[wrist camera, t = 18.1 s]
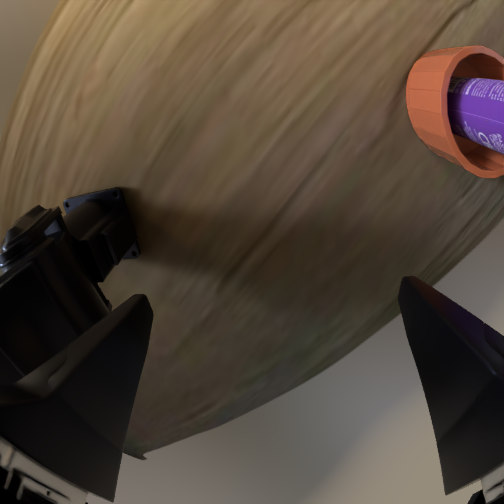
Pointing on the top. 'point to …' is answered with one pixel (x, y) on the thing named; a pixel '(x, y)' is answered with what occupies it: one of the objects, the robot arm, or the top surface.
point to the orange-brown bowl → (435, 105)
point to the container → (477, 110)
